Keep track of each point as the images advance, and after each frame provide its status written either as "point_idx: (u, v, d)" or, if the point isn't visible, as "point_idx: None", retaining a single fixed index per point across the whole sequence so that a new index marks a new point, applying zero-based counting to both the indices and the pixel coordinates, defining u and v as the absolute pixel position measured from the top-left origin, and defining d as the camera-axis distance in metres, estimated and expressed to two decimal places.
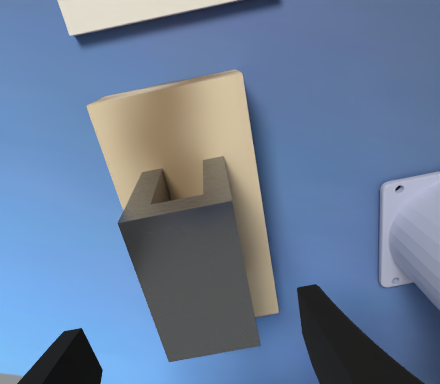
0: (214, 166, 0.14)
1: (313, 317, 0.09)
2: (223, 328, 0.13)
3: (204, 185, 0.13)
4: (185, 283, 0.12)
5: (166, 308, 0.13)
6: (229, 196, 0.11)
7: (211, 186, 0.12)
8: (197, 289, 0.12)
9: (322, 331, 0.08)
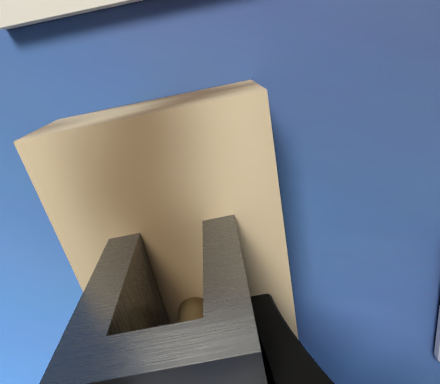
0: (221, 238, 0.09)
1: (257, 327, 0.09)
2: None
3: (205, 289, 0.07)
4: None
5: None
6: (254, 334, 0.06)
7: (219, 295, 0.07)
8: None
9: (262, 342, 0.08)
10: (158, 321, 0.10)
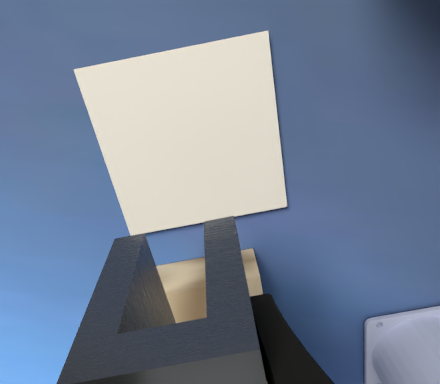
0: (222, 239, 0.10)
1: (257, 327, 0.09)
2: None
3: (208, 290, 0.08)
4: None
5: None
6: (253, 332, 0.06)
7: (220, 295, 0.08)
8: None
9: (262, 342, 0.08)
10: (162, 316, 0.11)
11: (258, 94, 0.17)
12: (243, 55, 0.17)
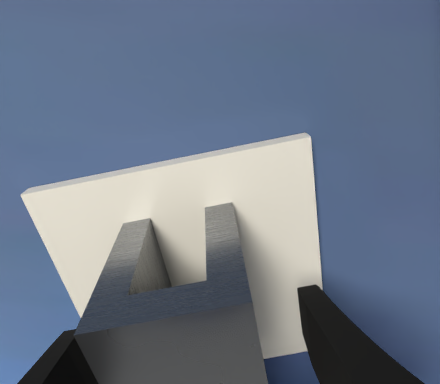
0: (221, 221, 0.10)
1: (313, 317, 0.09)
2: None
3: (207, 260, 0.09)
4: None
5: None
6: (247, 290, 0.07)
7: (219, 263, 0.08)
8: None
9: (322, 331, 0.08)
10: None
11: (293, 218, 0.12)
12: (273, 170, 0.11)
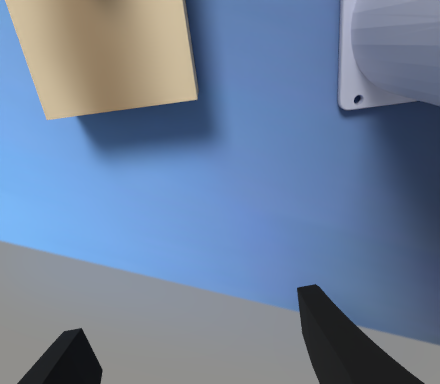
0: None
1: (313, 317, 0.09)
2: None
3: None
4: None
5: None
6: None
7: None
8: None
9: (322, 331, 0.08)
10: None
11: None
12: None
